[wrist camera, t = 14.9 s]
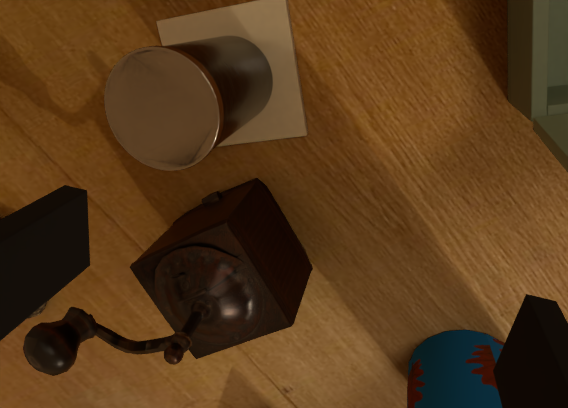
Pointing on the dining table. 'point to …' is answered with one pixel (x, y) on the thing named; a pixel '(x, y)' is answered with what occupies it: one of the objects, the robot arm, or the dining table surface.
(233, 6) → the plate
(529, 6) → the chest
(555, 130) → the chest lid
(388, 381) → the dining table surface
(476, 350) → the thermos
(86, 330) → the manual coffee grinder
